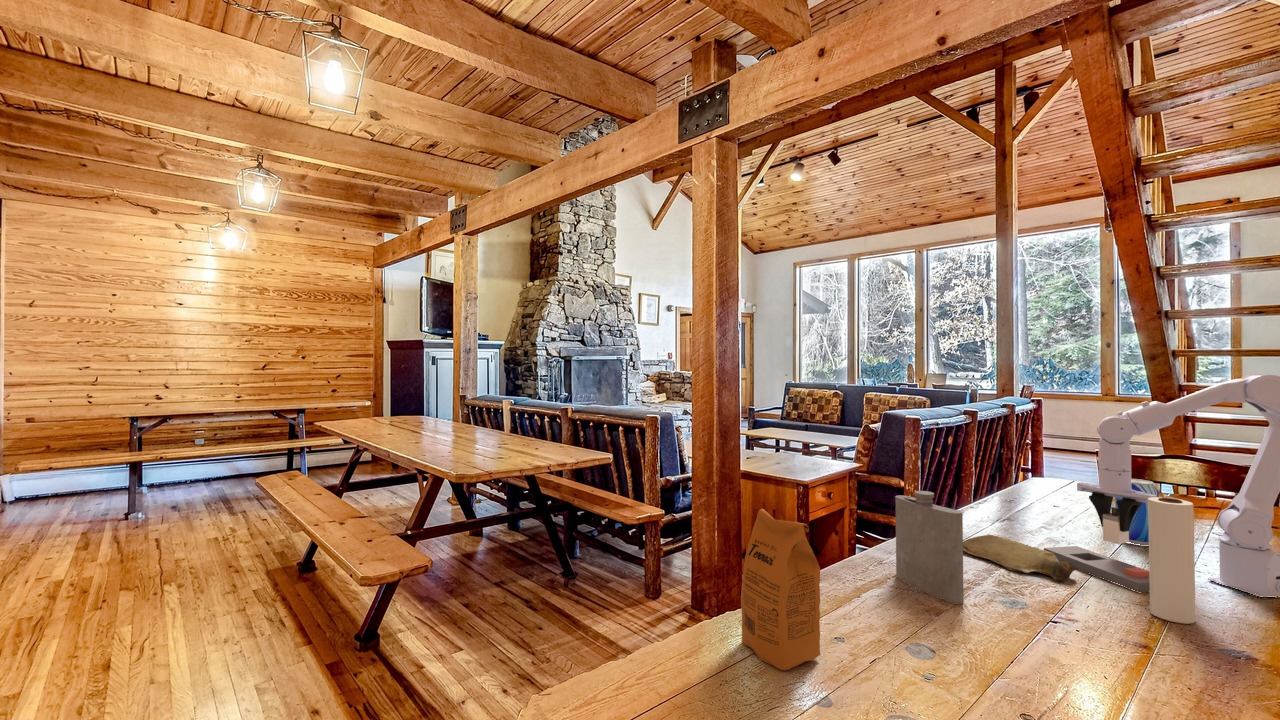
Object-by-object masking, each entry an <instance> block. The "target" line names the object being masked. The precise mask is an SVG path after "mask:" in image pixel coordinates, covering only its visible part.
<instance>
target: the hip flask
mask: <svg viewBox="0 0 1280 720" xmlns="http://www.w3.org/2000/svg"><path fill="white" fill-rule="evenodd" d="M934 498H935V492H932V491H928V490H915V491H914V496H909V495H903V494H902V495H900V494H899V495H896V496H895V567H896V568H895V572H896V574H895V575H896V578H897V579H898V580H900V581H902V582H904V581H905V582H906V584H907V583H908V584H907V585H909V584H910V585H909V586H911V585H912V586H911V587H913V586H914V587H913V588H915V587H916V588H915V589H917V588H918V589H917V590H919V589H920V590H919V591H921V590H922V591H921V592H923V591H924V593H925V592H926V594H927V595H930V596H932V595H933V597H934V598H937V599H939V598H940V600H942V599H943V600H942V601H944V602H947V603H949V604H955V605H962V604H964V599H965V598H964V596H965V595H964V594H965V593H964V551H963V541H964V540H963V539H964V533H963V532H964V531H963V530H964V528H963V527H964V525H963V520H964V519H963V511H961V510H958V509H955V508H954V509H953V508H949V507H945V506H941V505H937V504H934ZM905 582H904V583H905Z"/></svg>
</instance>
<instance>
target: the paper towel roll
mask: <svg viewBox="0 0 1280 720" xmlns="http://www.w3.org/2000/svg"><path fill="white" fill-rule="evenodd" d="M1194 509H1195V507H1194V503H1193V502H1191V501H1188V500H1184V499H1180V498H1176V497H1171V496H1168V495H1166V497H1161V496H1159V497H1151V498H1148V521H1149V547H1148V559H1149V560H1148V564H1149V565H1148V566H1149V567H1148V568H1149V569H1148V571H1149V578H1150V592H1149V611H1150V613H1151V614H1152V615H1153V616H1155V617H1157V618H1159V619H1162V620H1165V621H1169V622H1172V623H1173V622H1174V623H1176V624H1185V625H1186V624H1187V625H1188V624H1194V623H1196V620H1197V619H1196V571H1195V570H1196V569H1195V567H1196V566H1195V564H1196V563H1195V562H1196V561H1195V524H1194V523H1195V520H1194V519H1195V516H1194V515H1195V513H1194Z"/></svg>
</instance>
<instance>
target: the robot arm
mask: <svg viewBox="0 0 1280 720" xmlns="http://www.w3.org/2000/svg"><path fill="white" fill-rule="evenodd" d="M1220 403H1239V404H1240V403H1241V404H1249V405H1251V406H1252V407H1254V408H1255V409H1257V410H1258V412H1259V413H1260V414H1261V415H1262V416H1263V417H1264V418H1265V419H1266V420H1267V422H1268V424H1269V425H1268V427H1267V430H1266V431H1265V433H1264V436H1263V439H1262V440H1261V443H1260V445H1259V447H1258V449H1257V450H1256V451H1257V452H1256V454H1255V456H1254V458H1253V461H1252V463H1251V465H1250V468H1249V469H1248V473H1247V474H1246V477H1245V479H1244V482H1243V483H1242V485H1241V488H1240V490H1239V492H1238V494H1236V496H1234V497H1233V498H1232V499H1231V502H1230V503H1229V505H1228V506H1227V507H1226V508H1224V509H1223V510H1221V511H1220V512H1219V514H1217V523H1218V525H1219V527H1220V529H1222V531H1224V532H1223V533H1222V535H1220V536H1219V537H1218V543H1219V545H1218V546H1219V547H1218V549H1219V554H1218V555H1219V577H1208V578H1207V581H1208V580H1210V581H1209V582H1211V581H1214V582H1218V583H1221V584H1224V585H1227V586H1230V587H1233V588H1237V589H1240V590H1242V591H1245V592H1249V593H1251V594H1255V593H1256V594H1255V595H1258V596H1263V597H1267V596H1280V552H1278V551H1275V550H1274V549H1272V547H1271V546H1272V544H1270V542H1271V541H1272V540H1273V537H1274V536H1273V535H1274V533H1273V529H1272V523H1273V520H1274V519H1275V518H1274V516H1275V515H1274V514H1275V513H1274V512H1275V511H1274V505H1275V503H1276V501H1277V498H1278V496H1279V494H1280V376H1279V375H1276V374H1275V375H1274V374H1262V373H1261V374H1259V373H1258V374H1257V373H1255V374H1254V373H1253V374H1249V375H1246V376H1243V377H1241V378H1234V379H1230V380H1226V381H1222V382H1219V383H1216V384H1214V385H1211V386H1208V387H1206V388H1202V389H1201V390H1198V391H1195V392H1193V393H1190V394H1188V395H1185V396H1183V397H1180V398H1177V399H1174V400H1172V401H1169V402H1167V403H1164V402H1161V401H1157V400H1155V401H1151V402H1149V400H1148V401H1147V400H1146V401H1143V402H1140V406H1136V407H1134V408H1131V409H1129V410H1126V411H1124V412H1123V411H1122V410H1120V411H1116V415H1117V416H1106V417H1105V418H1103V419H1102V420H1100V421H1099V422H1098V425H1097V427H1096V431H1097V433H1098V435H1099V436H1100V437H1099V440H1098V445H1099V447H1098V451H1097V452H1098V454H1097V455H1098V457H1097V460H1098V483H1089V482H1083V481H1081V482H1077V483H1076V490H1077V491H1078V492H1087V493H1091V494H1090V495H1088V499H1089V501H1090V502H1091V503H1092V505H1093V507H1094V509H1095V511H1096V514H1097V515H1098V518H1099V521H1100V522H1099V523H1100V524H1101V528H1103V514H1107V513H1112V509H1111V507H1112V503H1113V500H1114V498H1115V497H1117V498H1122V499H1123V500H1117V501H1116V502H1117V505H1118V509H1119V516H1120V531H1122V532H1126V531H1129V528H1130V525H1131V522H1132V519H1133V517H1134V515H1135V513H1136V512H1137V510H1138V509H1139V507H1140V506H1141V505H1142V502H1144V503H1146V504H1148V498H1151V497H1157V495H1153V494H1148V493H1144V492H1140V491H1136V490H1132V488H1131V479H1132V451H1131V449H1130V448H1131V443H1130V442H1131V439H1132V438H1133V436H1142V435H1145V434H1147V433H1151V432H1153V431H1158V430H1160V429H1163V428H1166V427H1169V426H1171V425H1173V423H1174V421H1175V419H1176V417H1178V416H1182V415H1185V414H1188V413H1191V412H1194V411H1198V410H1201V409H1204V408H1206V407H1211V406H1214V405H1216V404H1217V405H1218V404H1220ZM1115 494H1116V495H1115ZM1121 495H1123V496H1121ZM1214 582H1213V583H1214ZM1251 594H1250V595H1251Z"/></svg>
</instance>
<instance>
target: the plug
mask: <svg viewBox="0 0 1280 720" xmlns="http://www.w3.org/2000/svg"><path fill="white" fill-rule="evenodd" d="M1102 541H1104V542H1109V543H1111V544H1116V545H1123V544H1126V542H1129V531H1126V532H1122V531H1120V516H1119V509H1118V508H1117V507H1115V506H1111V513H1107V514H1103V527H1102Z"/></svg>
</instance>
